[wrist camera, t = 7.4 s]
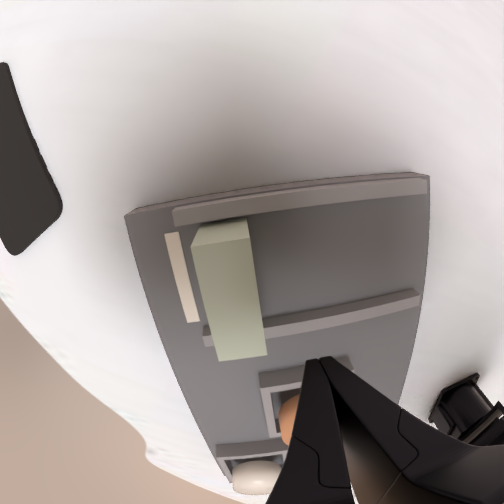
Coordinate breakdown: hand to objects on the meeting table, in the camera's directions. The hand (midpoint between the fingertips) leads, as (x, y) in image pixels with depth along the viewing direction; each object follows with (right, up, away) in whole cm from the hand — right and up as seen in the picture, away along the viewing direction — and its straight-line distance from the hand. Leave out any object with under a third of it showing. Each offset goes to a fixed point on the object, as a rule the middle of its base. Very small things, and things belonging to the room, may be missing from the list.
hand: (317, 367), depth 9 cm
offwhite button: (-2, -17, +13) cm, 21 cm away
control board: (+2, -5, +13) cm, 14 cm away
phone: (-21, +11, +6) cm, 25 cm away
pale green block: (-3, +3, +7) cm, 8 cm away
